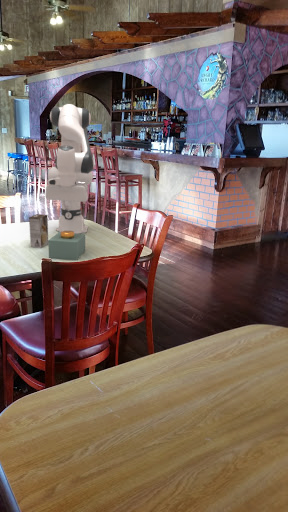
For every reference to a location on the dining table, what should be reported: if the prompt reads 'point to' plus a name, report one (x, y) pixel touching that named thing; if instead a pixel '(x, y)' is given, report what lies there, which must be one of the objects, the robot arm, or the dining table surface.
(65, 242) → the block
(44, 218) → the coffee box
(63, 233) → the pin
